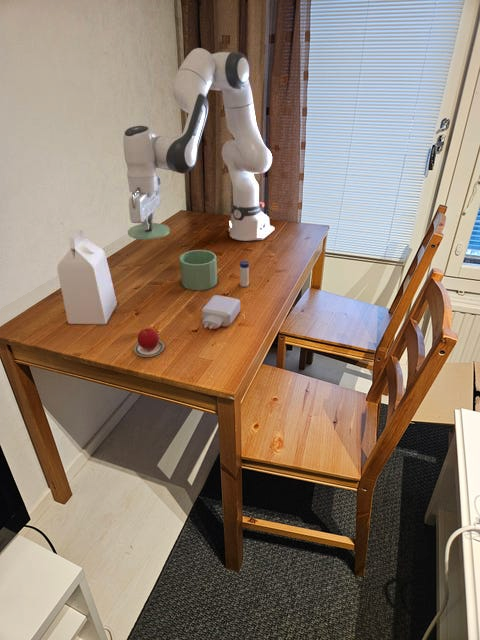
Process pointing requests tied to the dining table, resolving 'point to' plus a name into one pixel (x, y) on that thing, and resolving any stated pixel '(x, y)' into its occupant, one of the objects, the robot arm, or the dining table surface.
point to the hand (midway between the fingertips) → (148, 227)
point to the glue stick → (244, 273)
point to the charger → (220, 311)
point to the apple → (148, 343)
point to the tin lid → (148, 231)
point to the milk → (86, 283)
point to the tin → (198, 269)
